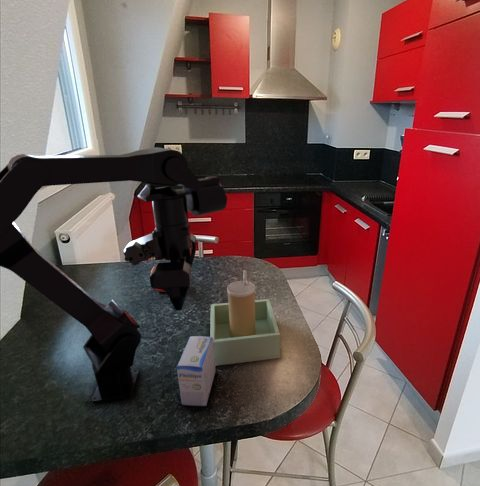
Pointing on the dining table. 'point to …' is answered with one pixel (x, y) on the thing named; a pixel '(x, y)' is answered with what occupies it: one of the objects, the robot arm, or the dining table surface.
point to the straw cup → (242, 308)
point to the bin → (245, 346)
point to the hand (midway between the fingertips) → (181, 296)
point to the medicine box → (196, 371)
